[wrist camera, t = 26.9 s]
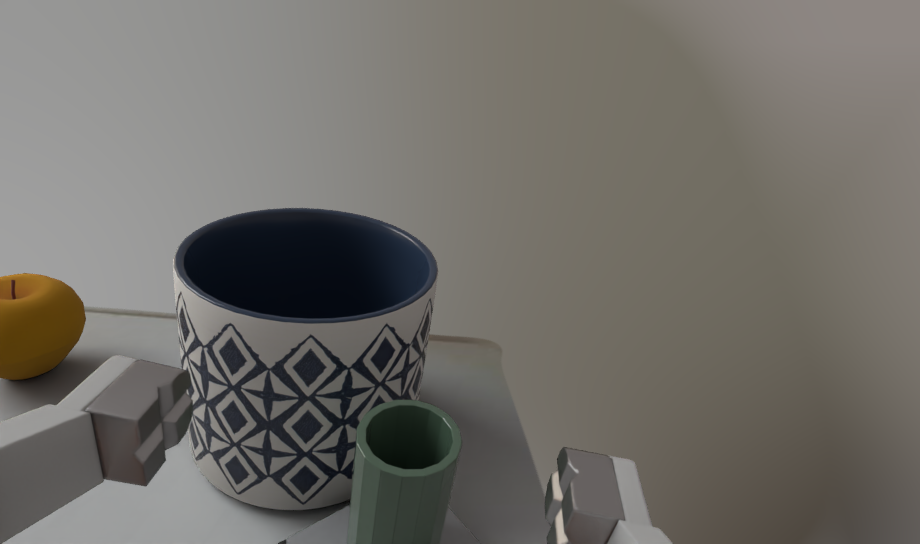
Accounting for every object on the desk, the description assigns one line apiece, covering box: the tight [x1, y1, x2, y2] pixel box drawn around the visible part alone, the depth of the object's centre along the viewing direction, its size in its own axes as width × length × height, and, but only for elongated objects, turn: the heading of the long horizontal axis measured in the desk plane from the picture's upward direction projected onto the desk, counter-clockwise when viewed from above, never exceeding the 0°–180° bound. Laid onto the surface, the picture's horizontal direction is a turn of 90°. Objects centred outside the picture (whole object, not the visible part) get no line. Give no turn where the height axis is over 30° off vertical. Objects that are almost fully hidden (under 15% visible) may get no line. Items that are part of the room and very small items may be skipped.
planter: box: [173, 208, 438, 510], centre depth 42 cm, size 18×18×16 cm
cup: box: [346, 400, 462, 544], centre depth 30 cm, size 6×6×10 cm
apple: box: [0, 273, 86, 380], centre depth 44 cm, size 9×9×9 cm
